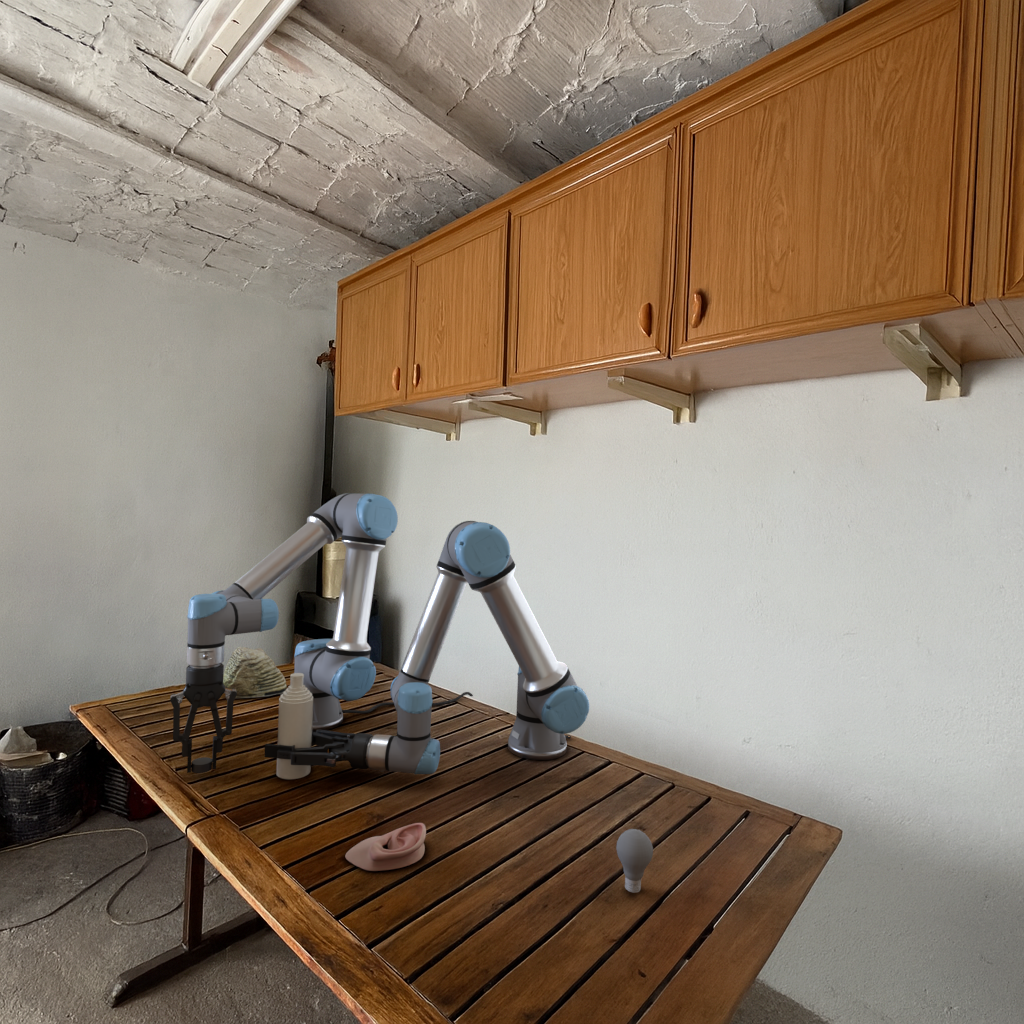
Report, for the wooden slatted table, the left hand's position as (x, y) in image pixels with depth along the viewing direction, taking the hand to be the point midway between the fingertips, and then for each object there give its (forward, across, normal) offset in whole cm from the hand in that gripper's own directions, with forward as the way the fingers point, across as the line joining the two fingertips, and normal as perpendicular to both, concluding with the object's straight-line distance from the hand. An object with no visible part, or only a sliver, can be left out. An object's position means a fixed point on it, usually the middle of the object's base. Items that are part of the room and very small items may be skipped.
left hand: (201, 768), depth 141 cm
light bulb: (+2, +64, -71) cm, 96 cm away
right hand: (-5, +15, -2) cm, 16 cm away
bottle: (+2, +19, -5) cm, 20 cm away
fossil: (+2, +15, +56) cm, 58 cm away
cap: (-1, 0, 0) cm, 1 cm away
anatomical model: (+2, +30, -46) cm, 54 cm away
